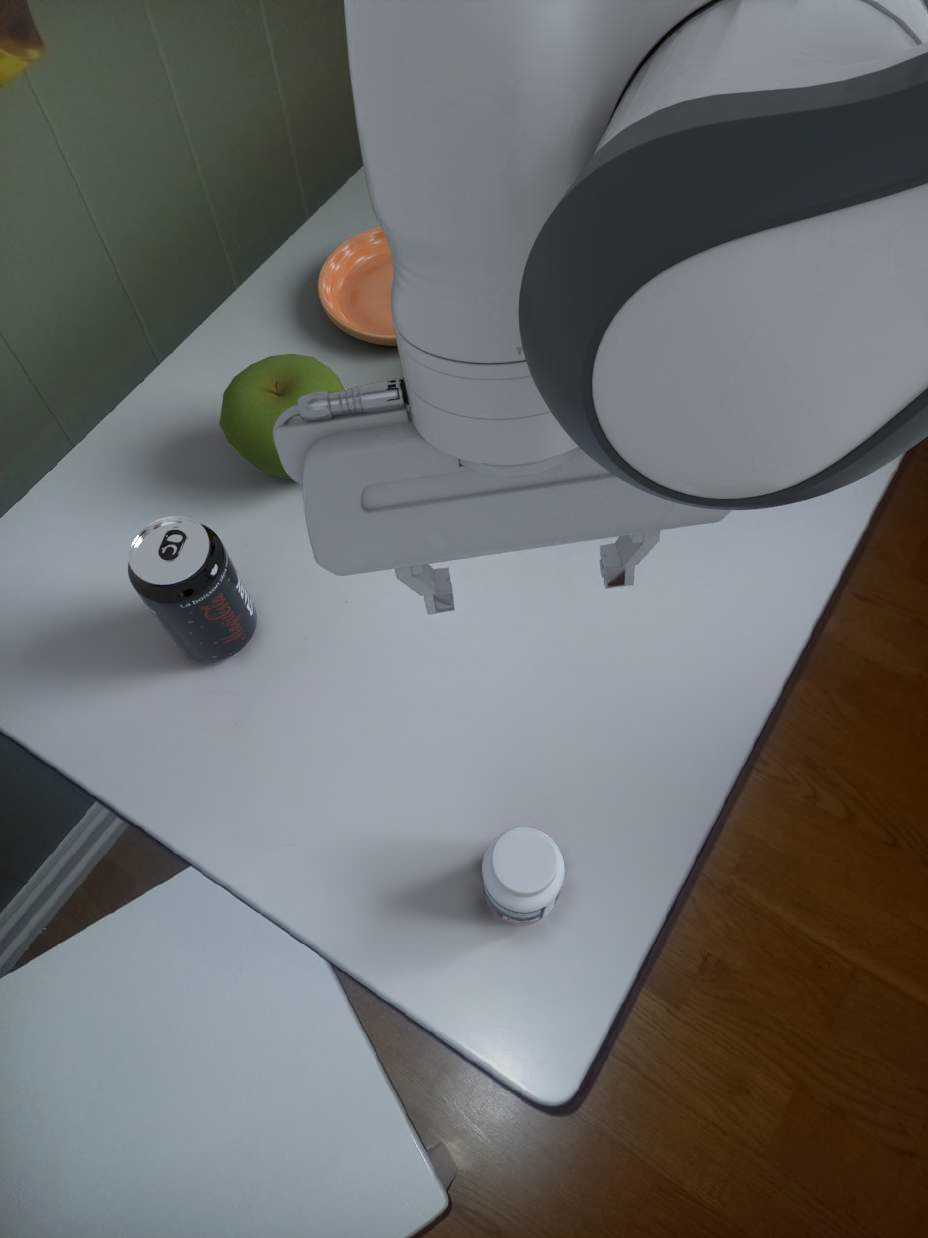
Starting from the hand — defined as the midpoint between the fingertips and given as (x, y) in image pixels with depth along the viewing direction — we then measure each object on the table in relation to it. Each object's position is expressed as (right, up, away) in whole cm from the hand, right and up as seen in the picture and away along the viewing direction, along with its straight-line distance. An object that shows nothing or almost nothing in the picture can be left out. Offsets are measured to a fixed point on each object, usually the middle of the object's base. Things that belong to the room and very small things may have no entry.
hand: (528, 591), depth 45 cm
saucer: (-10, +31, +41) cm, 52 cm away
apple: (-18, +13, +32) cm, 39 cm away
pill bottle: (+1, -20, +14) cm, 24 cm away
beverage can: (-23, -2, +24) cm, 33 cm away
